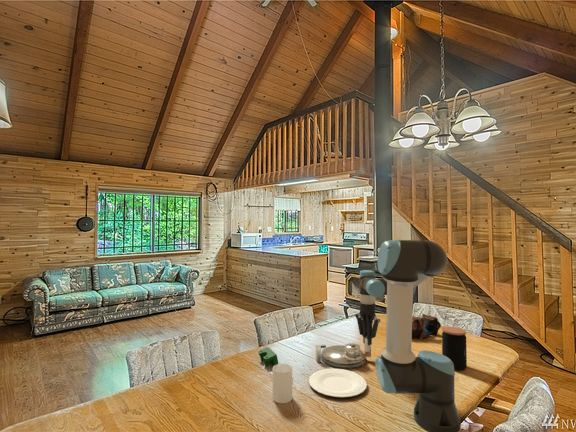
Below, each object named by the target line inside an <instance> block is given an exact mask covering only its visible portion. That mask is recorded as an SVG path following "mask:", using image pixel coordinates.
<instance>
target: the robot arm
mask: <svg viewBox="0 0 576 432" xmlns="http://www.w3.org/2000/svg"><path fill="white" fill-rule="evenodd" d="M447 255H448V254H447V252H446V251H445V249H444V248H443V247H442V246H441V245H440V244H438V243H437V242H434V241H433V240H428V239H425V240H424V239H417V240H416V239H414V240H413V239H391V240H386V241H384V242H382V243H381V245H380V247H379V250H378V254H377V260H376V261H377V264H376V265H377V269H378V273H380V274H382V277H381V278H377V276H376V272H375V271H374V270H370V269H362V270H360V271H359V276H358V278H359V299H358V301H359V311H358V312H359V313H356V314H355V315H354V317H355V318H356V321H357V327H358V332H359V335H361V336H362V337H363V341H362V343H363V344H364V353H365V352H369V351H370V345H371V346H372V344H373V343H372V342H373V339H374V338H376V337H377V331H378V327H379V323H380V322H381V319H380V318H378V317H377V315H376V298H380V297H382V296H386V320H385V322H386V325H385V327H386V328H385V347H383V348H382V349H381V351H380V353H381V354H380V356H378V357H375V361H374V363H375V364H374V365H375V372H376V376H377V380H378V383H379V385H380V388H381V390H382V391H383V392H384V393H386V394H395V395H398V394H418V397H417V399H416V402H415V404H414V407H413V419H414V421H415V422H416V423H417V425H419V426H420V427H421V428H423V429H425V430H427V431H429V432H460V430H461V428H462V427H461V425H462V424H461V418H460V415H459V412H458V409H457V405H456V403H455V376H456V372H455V370H454V364H453V362H452V361H451V360H450V359H449V358H448V357H446V356H444V355H442V353H439V352H436V351H431V350H424V349H423V350H420V351H418V353H417V356H416V354H415V353H414V352H413V351H412V341H413V340H412V338H413V336H412V316H413V308H414V307H413V305H414V304H413V302H414V301H413V299H414V298H413V297H414V295H415V293H416V290H417V286H419V285H421V284H422V283H424V282H425V281H426V280H428V279H429V278H434V277H437V276H439V275H440V274H441V273H443V272H444V271H445V270H446V268H447V265H448V261H449V260H448V256H447Z"/></svg>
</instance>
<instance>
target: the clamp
mask: <svg viewBox="0 0 576 432" xmlns="http://www.w3.org/2000/svg"><path fill="white" fill-rule="evenodd" d="M258 356H259V357H260V361H261V363H262V362H263V363H264V366H265V367H268V366H269V365H271V364H272V365H273V367H274V366H275V365H277V364H279V359H278V355H277V353H275V351H274V350H272V348H270V347H269V346H265V347H264V348H262V349H260V350H258Z"/></svg>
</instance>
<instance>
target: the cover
mask: <svg viewBox="0 0 576 432" xmlns="http://www.w3.org/2000/svg"><path fill="white" fill-rule="evenodd" d="M344 346H345V352H344V353H343V357H344V358H345V359H346V360H350V361H359V360H361V359H362V354H361V353H360V350H361V345H359V344H357V343H351V342H350V343H349V342H348V343H346V344H344Z"/></svg>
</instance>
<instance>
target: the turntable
mask: <svg viewBox="0 0 576 432" xmlns="http://www.w3.org/2000/svg"><path fill="white" fill-rule="evenodd" d="M322 349H323V350H321V353H322V357H323V358H324V359H325V360H327V361H329V362H331V363H335V364H340V365H354V364H358V363H361V362H363V361H364V359H365V357H366V358H372V344H371V345H370V351H369V352H365V351H363V350H362V349H360V353H361V354H362V359H361V360H359V361H350V360H346V359H345V358H344V357H343V353H344V352H345V345H342V344H341V345H340V344H339V345H338V344H337V345H331V346H326V348H322Z"/></svg>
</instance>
